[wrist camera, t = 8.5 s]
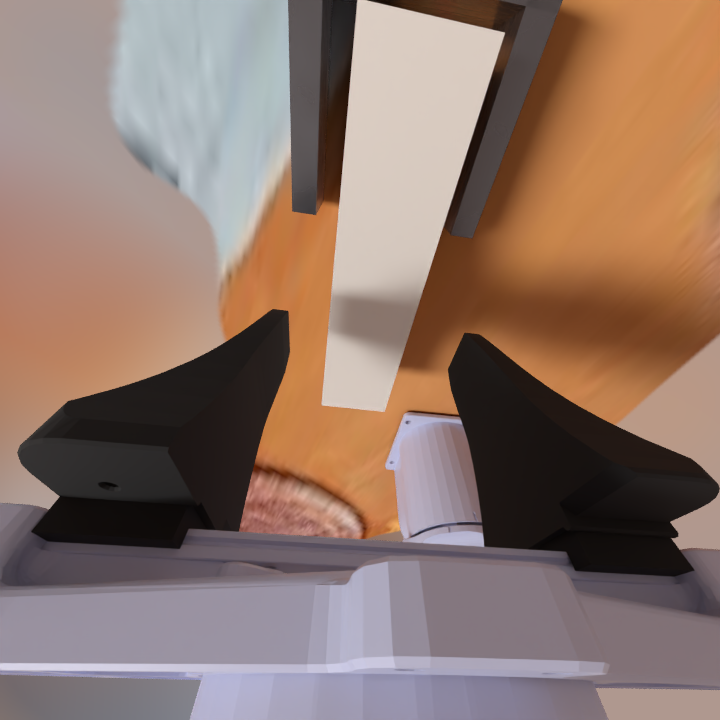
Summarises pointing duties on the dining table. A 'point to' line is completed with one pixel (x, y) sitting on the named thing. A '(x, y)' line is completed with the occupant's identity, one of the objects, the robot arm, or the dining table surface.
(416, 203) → the rail
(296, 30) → the u-shaped bracket
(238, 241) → the dining table surface
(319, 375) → the dining table surface
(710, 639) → the robot arm
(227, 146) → the dining table surface
